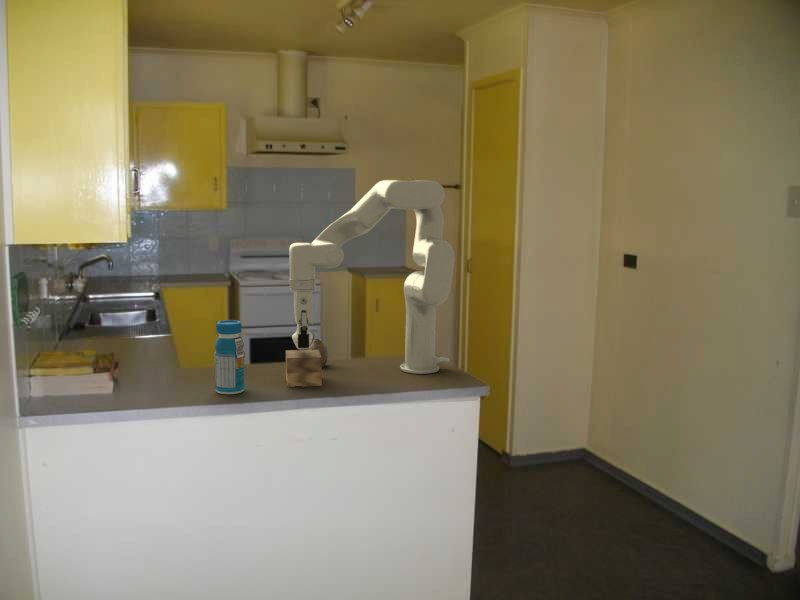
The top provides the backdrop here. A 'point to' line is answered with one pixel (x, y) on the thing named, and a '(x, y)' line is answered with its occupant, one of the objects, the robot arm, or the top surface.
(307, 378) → the tower base
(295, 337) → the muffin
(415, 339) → the robot arm
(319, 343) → the vase
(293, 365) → the tower top
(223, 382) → the beverage bottle
